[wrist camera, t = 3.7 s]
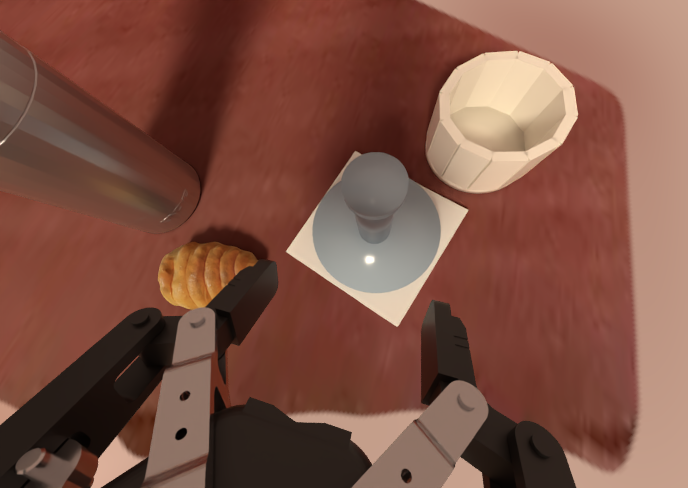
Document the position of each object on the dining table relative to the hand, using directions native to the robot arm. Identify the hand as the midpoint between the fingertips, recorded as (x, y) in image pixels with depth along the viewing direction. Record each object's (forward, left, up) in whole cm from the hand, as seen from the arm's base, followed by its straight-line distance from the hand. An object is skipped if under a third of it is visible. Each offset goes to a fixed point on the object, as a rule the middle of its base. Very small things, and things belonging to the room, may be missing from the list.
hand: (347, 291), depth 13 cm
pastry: (-14, -7, -12) cm, 19 cm away
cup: (+2, +19, -12) cm, 22 cm away
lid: (-2, +6, -11) cm, 13 cm away
